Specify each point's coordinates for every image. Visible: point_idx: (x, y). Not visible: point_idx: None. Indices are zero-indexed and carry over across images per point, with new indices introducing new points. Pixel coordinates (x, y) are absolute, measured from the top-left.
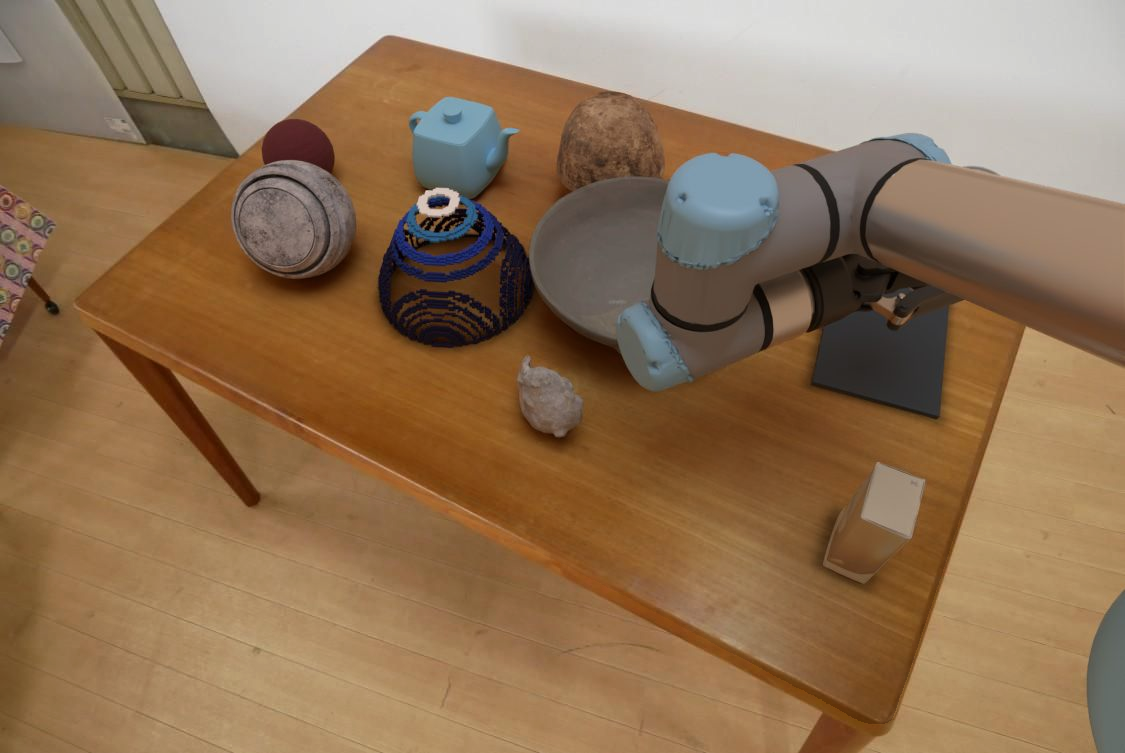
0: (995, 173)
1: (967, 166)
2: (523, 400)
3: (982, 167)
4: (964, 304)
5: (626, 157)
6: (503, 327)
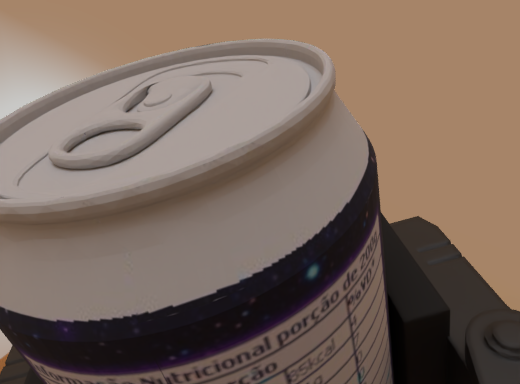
0: (133, 65)
1: (4, 119)
2: None
3: (66, 87)
4: None
5: None
6: None
